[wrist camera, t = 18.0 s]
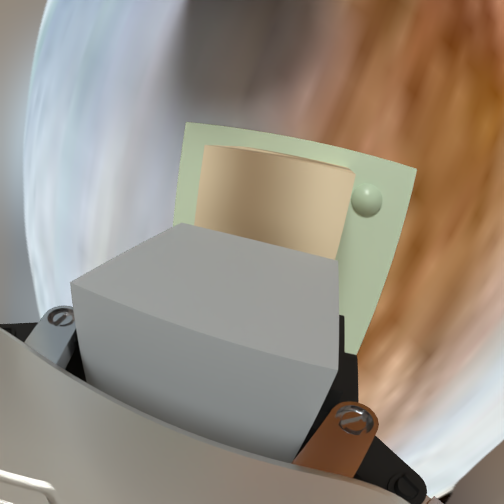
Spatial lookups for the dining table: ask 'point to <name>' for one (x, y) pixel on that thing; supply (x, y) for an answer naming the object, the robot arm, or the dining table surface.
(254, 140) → the baseplate
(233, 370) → the grey cube
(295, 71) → the dining table surface
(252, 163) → the beech block
